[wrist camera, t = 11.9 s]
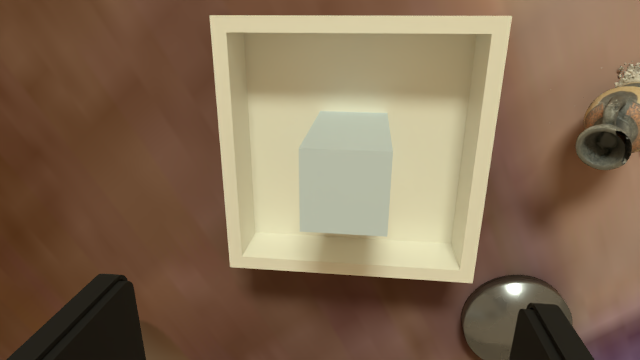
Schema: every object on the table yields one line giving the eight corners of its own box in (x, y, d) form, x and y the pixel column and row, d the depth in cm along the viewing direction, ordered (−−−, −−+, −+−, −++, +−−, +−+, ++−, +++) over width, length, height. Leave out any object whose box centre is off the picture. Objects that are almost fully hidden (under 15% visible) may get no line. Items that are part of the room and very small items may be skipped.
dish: (459, 249, 29) (472, 283, 25) (247, 236, 30) (230, 267, 27) (490, 16, 24) (512, 15, 20) (233, 15, 25) (209, 15, 22)
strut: (383, 176, 27) (387, 236, 19) (319, 173, 27) (299, 231, 20) (387, 112, 26) (392, 151, 18) (320, 111, 26) (298, 148, 18)
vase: (547, 168, 26) (590, 199, 21) (537, 80, 25) (580, 87, 19) (645, 150, 25) (719, 178, 20) (640, 57, 24) (718, 58, 18)
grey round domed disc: (555, 361, 31) (560, 371, 30) (455, 353, 32) (458, 363, 31) (575, 278, 29) (582, 287, 28) (467, 271, 29) (470, 279, 29)
